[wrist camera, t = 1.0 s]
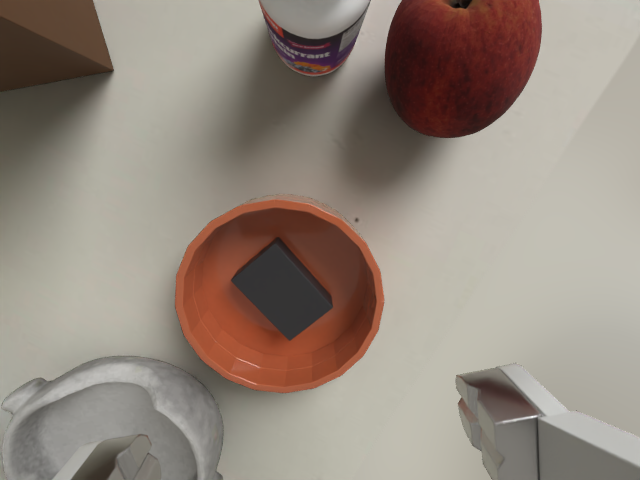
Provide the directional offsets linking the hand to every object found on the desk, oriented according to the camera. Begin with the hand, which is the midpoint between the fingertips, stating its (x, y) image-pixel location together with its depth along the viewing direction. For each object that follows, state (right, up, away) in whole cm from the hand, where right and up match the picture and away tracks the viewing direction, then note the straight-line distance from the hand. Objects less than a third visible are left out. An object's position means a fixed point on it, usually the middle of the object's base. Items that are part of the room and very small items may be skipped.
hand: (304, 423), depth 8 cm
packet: (-2, +2, +15) cm, 15 cm away
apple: (+8, +15, +12) cm, 21 cm away
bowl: (-2, +2, +15) cm, 15 cm away
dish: (-14, -10, +18) cm, 25 cm away
